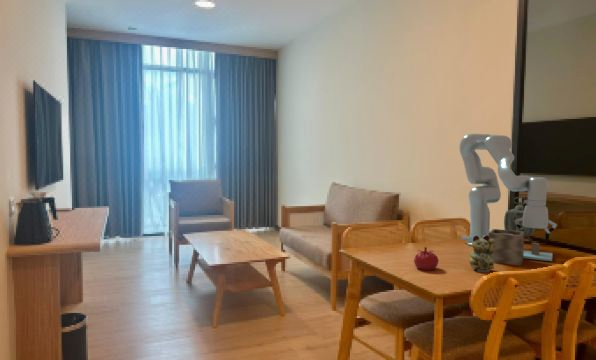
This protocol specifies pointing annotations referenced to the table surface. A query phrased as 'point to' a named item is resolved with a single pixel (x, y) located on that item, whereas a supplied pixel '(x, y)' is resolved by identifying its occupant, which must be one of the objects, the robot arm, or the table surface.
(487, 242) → the decorative figurine
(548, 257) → the lid
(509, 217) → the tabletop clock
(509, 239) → the walnut box
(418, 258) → the pomegranate
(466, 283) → the table surface
